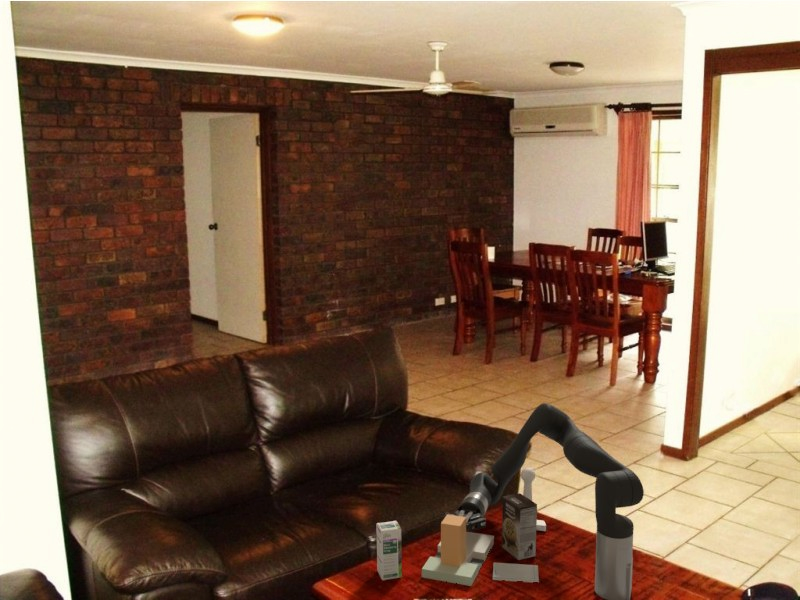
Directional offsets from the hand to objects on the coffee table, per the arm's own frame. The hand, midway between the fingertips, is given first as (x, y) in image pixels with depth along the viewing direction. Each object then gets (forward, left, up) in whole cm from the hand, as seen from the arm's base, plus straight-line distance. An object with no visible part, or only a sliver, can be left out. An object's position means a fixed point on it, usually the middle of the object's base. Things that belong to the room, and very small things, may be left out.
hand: (457, 532), depth 219 cm
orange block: (0, +3, -7) cm, 8 cm away
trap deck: (0, -3, -10) cm, 10 cm away
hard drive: (-17, 0, -10) cm, 20 cm away
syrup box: (+16, +12, -10) cm, 22 cm away
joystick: (-15, -27, -10) cm, 32 cm away
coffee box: (-15, -13, -10) cm, 22 cm away
